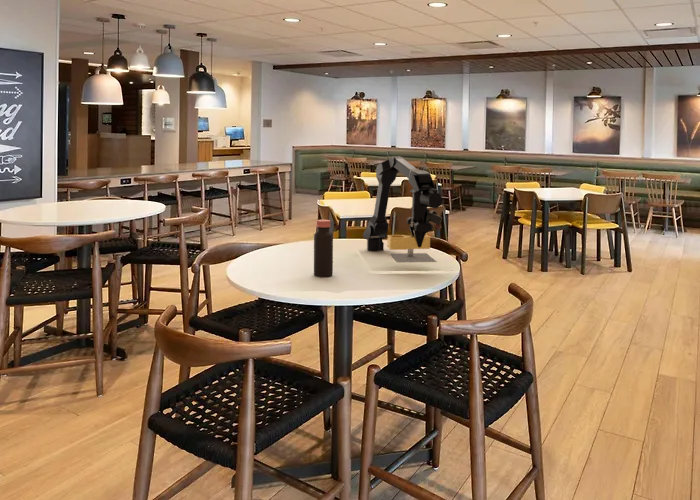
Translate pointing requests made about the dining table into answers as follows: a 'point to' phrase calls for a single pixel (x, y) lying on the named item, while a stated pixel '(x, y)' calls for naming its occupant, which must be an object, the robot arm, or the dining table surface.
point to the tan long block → (406, 242)
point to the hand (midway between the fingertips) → (418, 246)
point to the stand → (412, 257)
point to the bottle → (323, 250)
